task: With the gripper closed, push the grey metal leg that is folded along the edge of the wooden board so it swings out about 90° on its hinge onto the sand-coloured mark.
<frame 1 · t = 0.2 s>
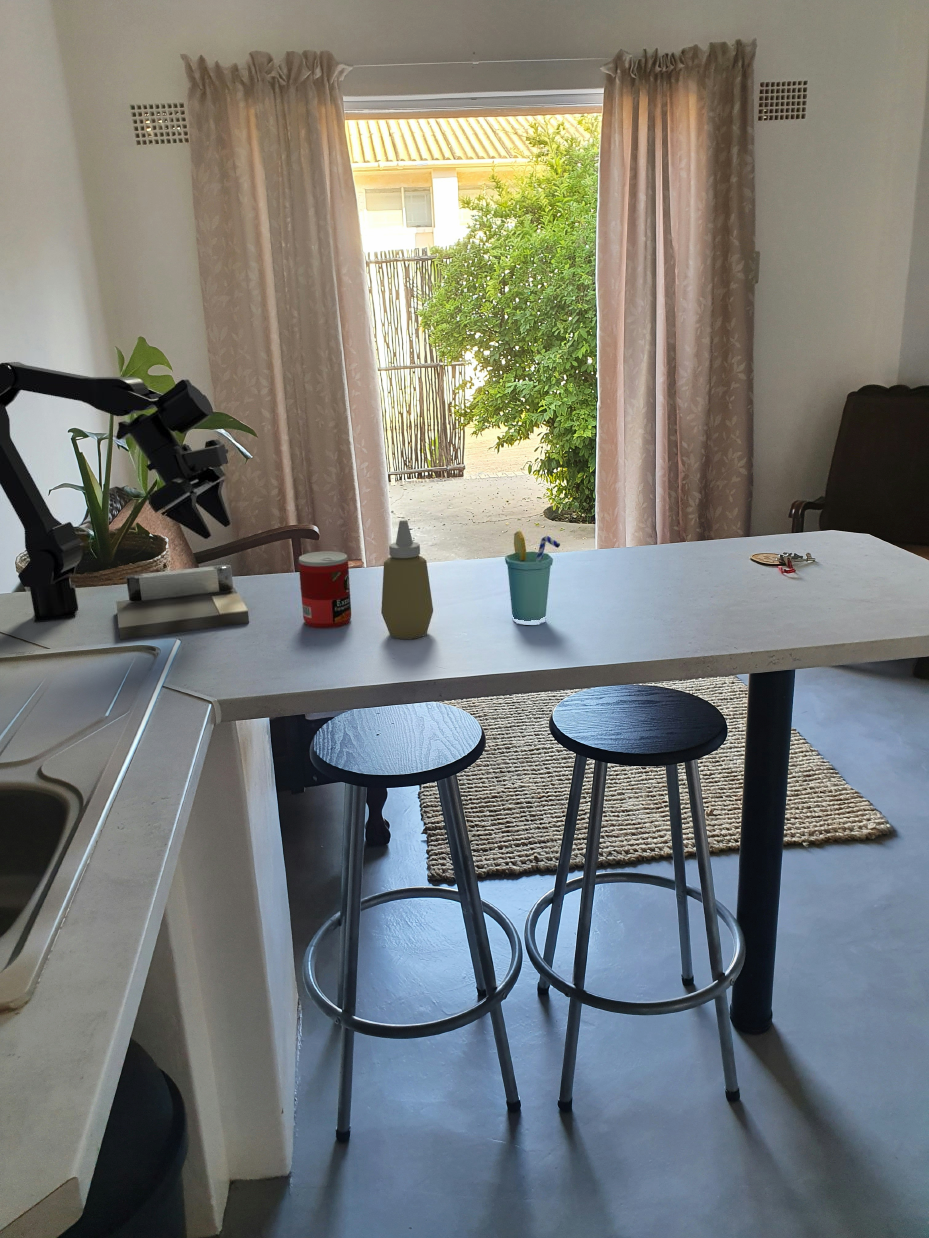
hand: (218, 531, 146), 15 cm above the worktop, tool tilted 30°, fingers open, 9 cm apart
canned food: (327, 622, 147), on the worktop
squeeze bottle: (408, 635, 140), on the worktop
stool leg: (180, 582, 155), point 4 cm above the worktop, hinge at 0.0°
wooden board: (181, 617, 151), on the worktop
cup: (531, 623, 144), on the worktop
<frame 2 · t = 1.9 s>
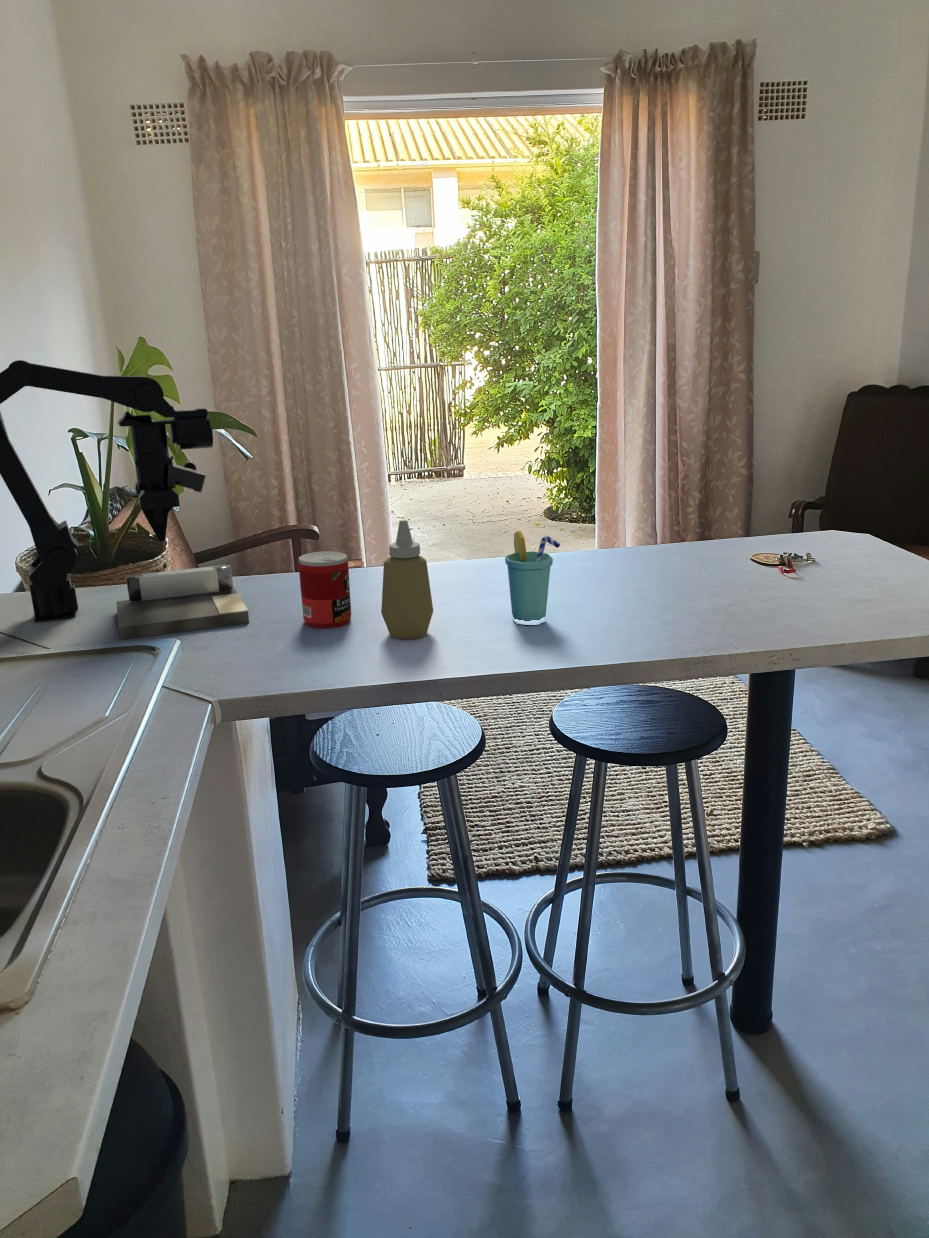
hand: (162, 540, 158), 11 cm above the worktop, tool pointing down, fingers closed
nothing on the worktop moved.
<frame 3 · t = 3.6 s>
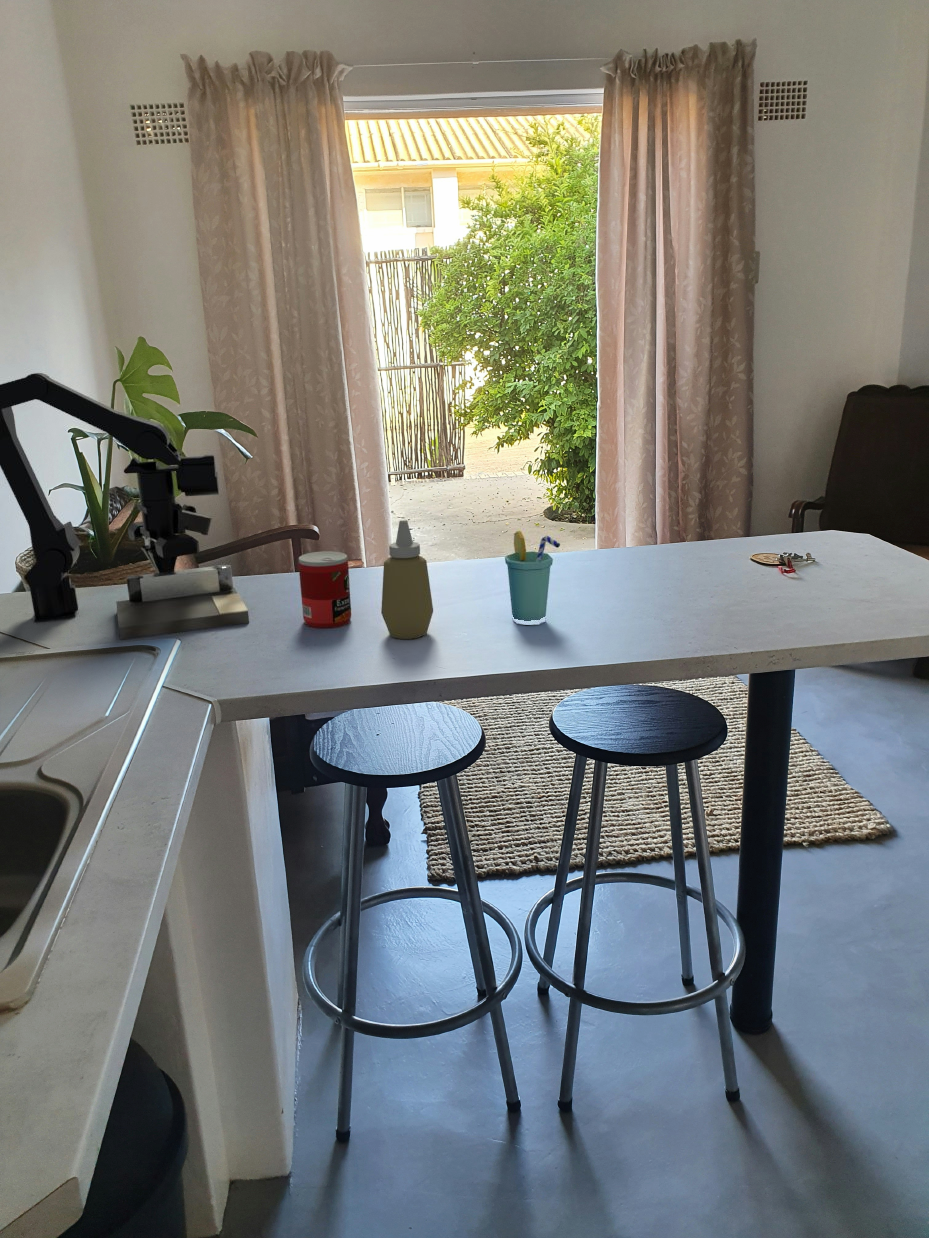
hand: (168, 585, 157), 4 cm above the worktop, tool pointing down, fingers closed
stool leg: (181, 583, 155), point 4 cm above the worktop, hinge at 3.2°, touching gripper
everything else where it was.
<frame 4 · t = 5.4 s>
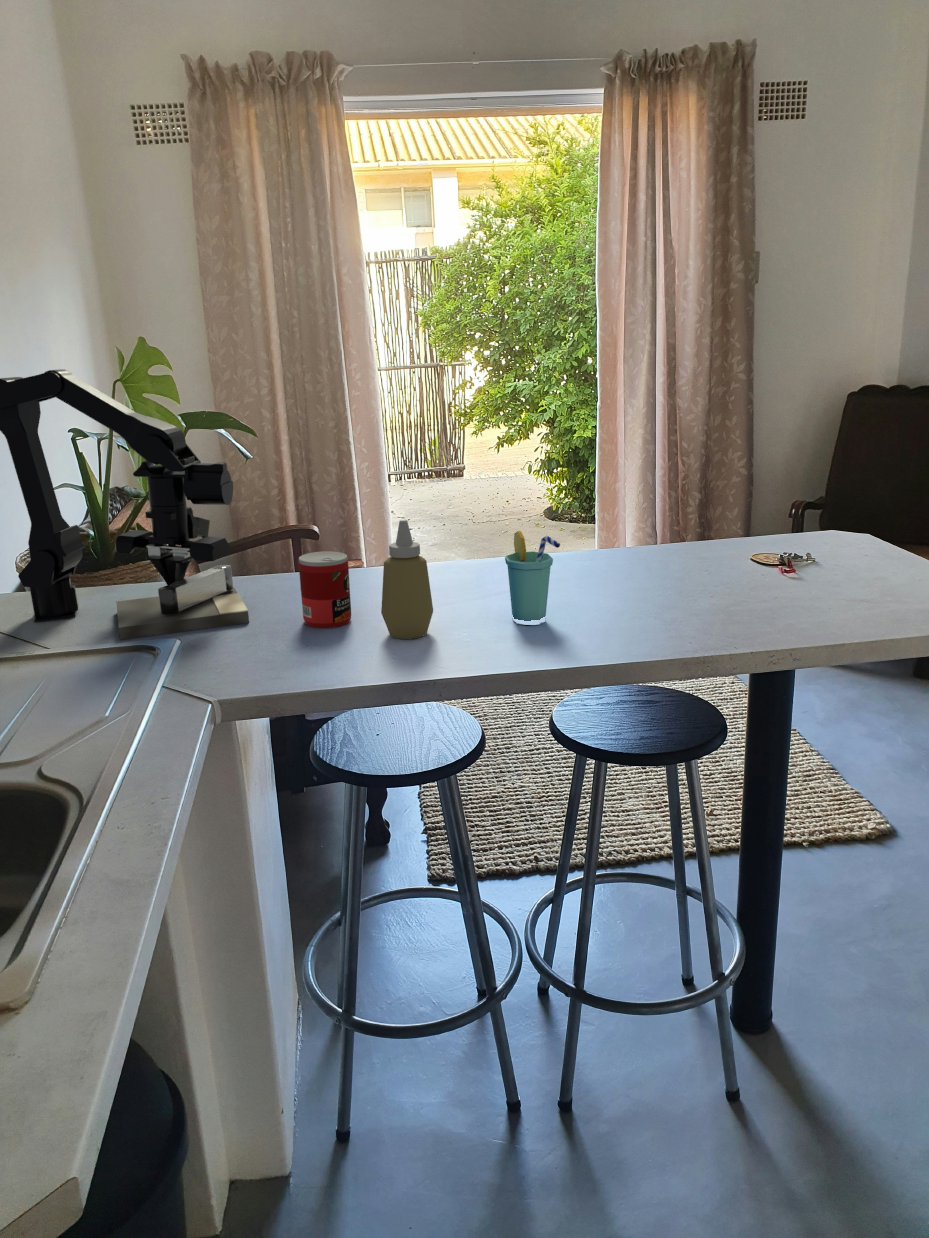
hand: (176, 594, 151), 4 cm above the worktop, tool pointing down, fingers closed
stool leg: (197, 588, 151), point 4 cm above the worktop, hinge at 46.7°, touching gripper
everything else where it was.
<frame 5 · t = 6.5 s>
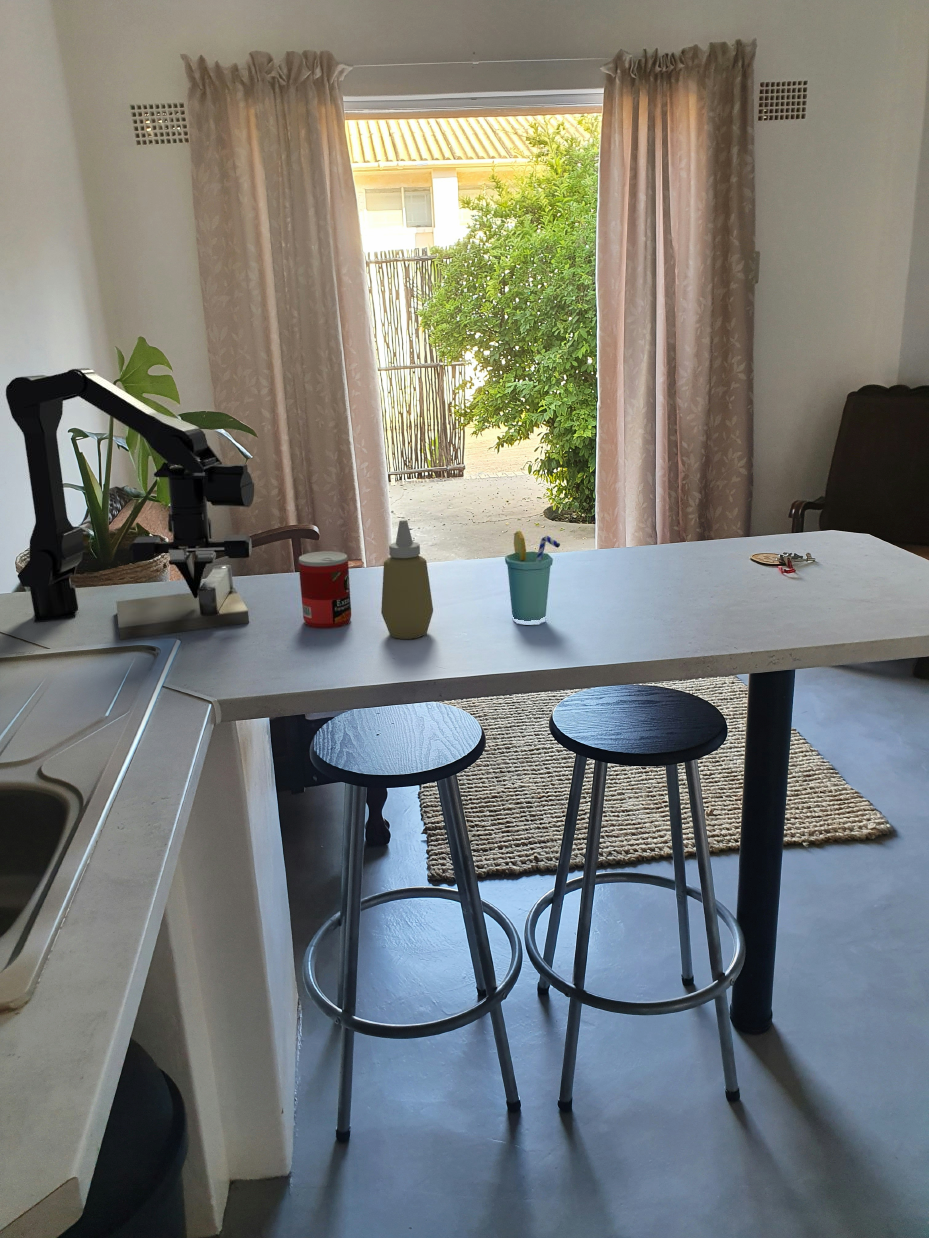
hand: (196, 597, 149), 4 cm above the worktop, tool pointing down, fingers closed
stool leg: (215, 588, 151), point 4 cm above the worktop, hinge at 73.5°, touching gripper
everything else where it was.
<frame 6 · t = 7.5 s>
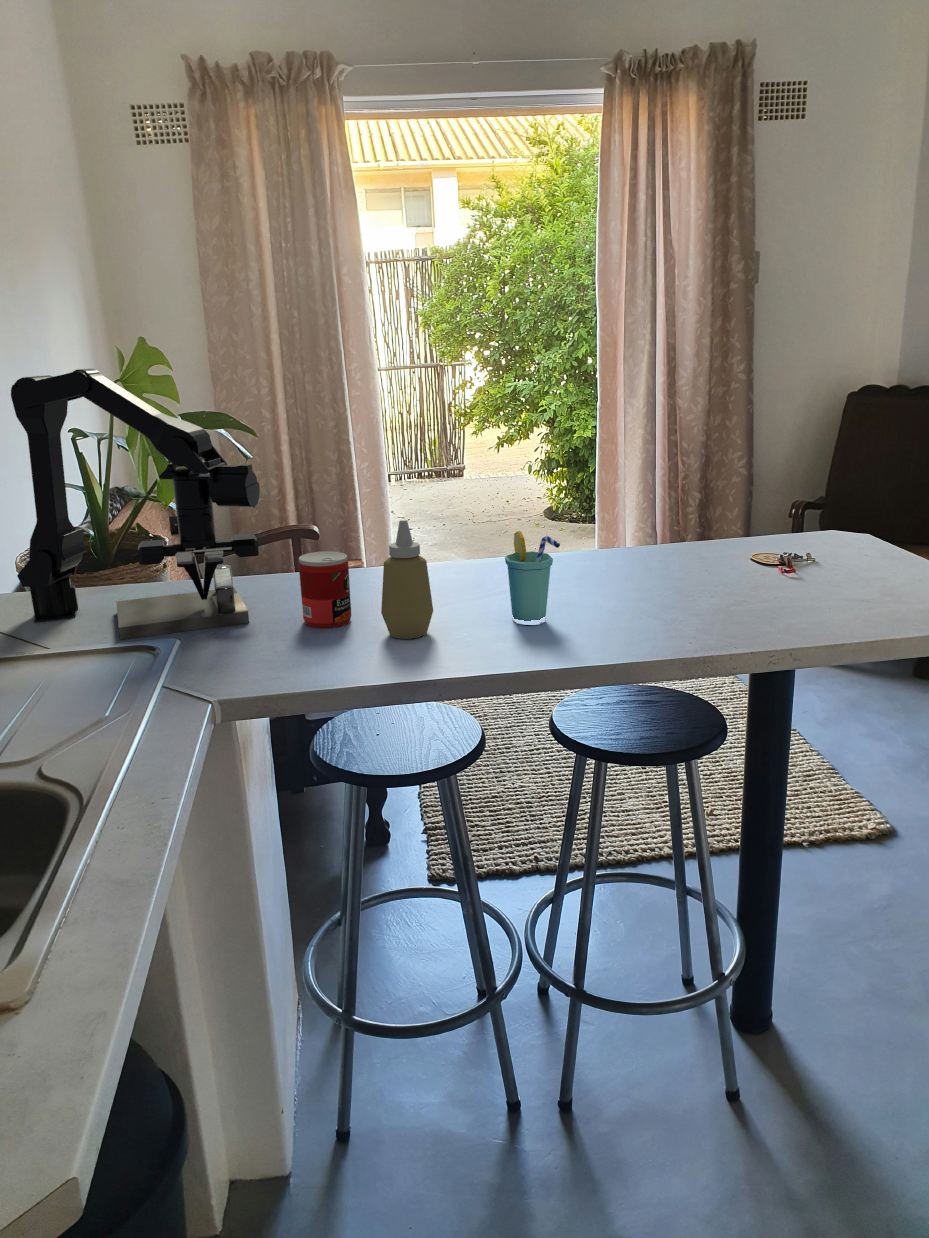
hand: (204, 599, 149), 3 cm above the worktop, tool pointing down, fingers closed
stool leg: (224, 588, 151), point 4 cm above the worktop, hinge at 84.5°
everything else where it was.
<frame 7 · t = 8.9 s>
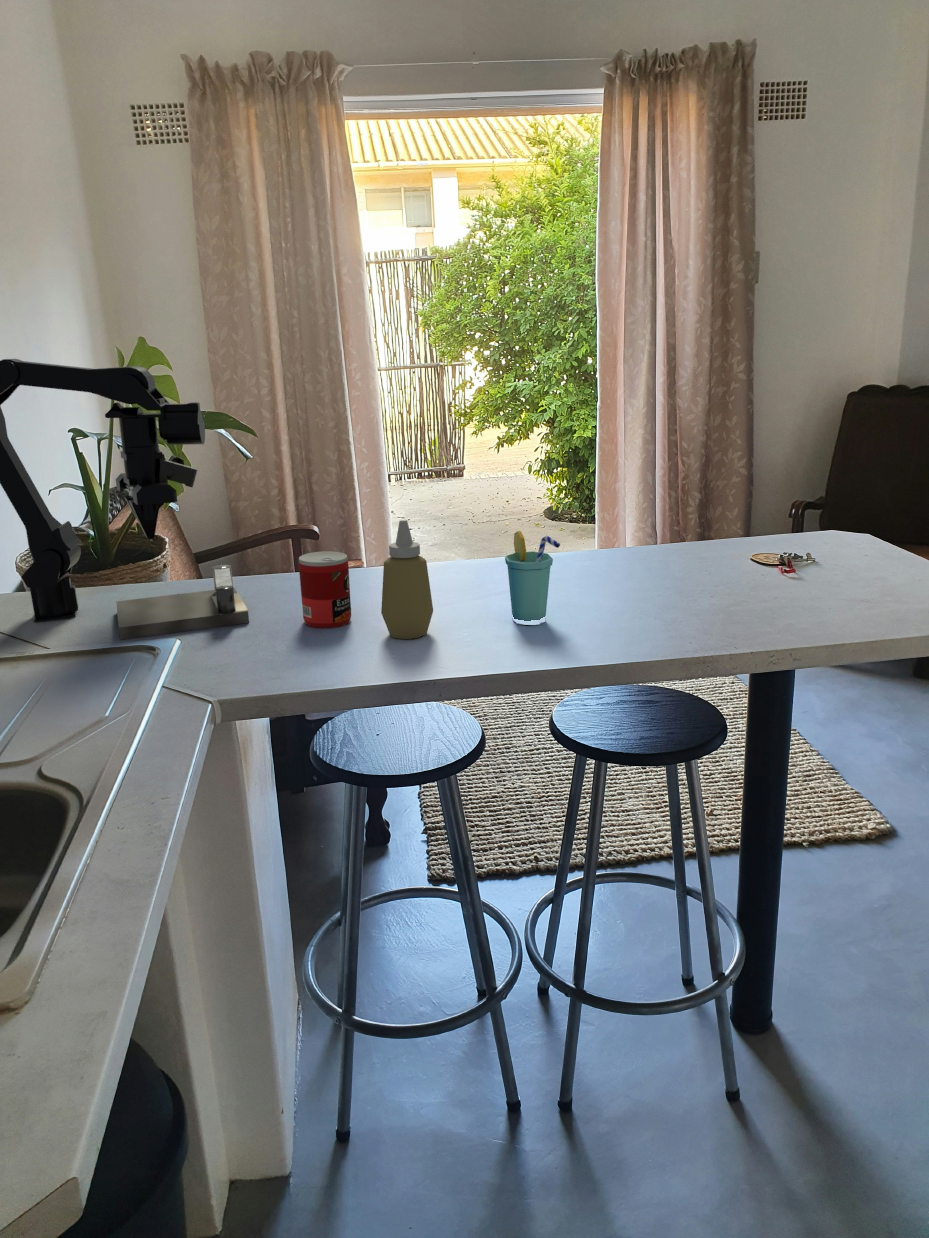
hand: (150, 538, 152), 13 cm above the worktop, tool pointing down, fingers closed
nothing on the worktop moved.
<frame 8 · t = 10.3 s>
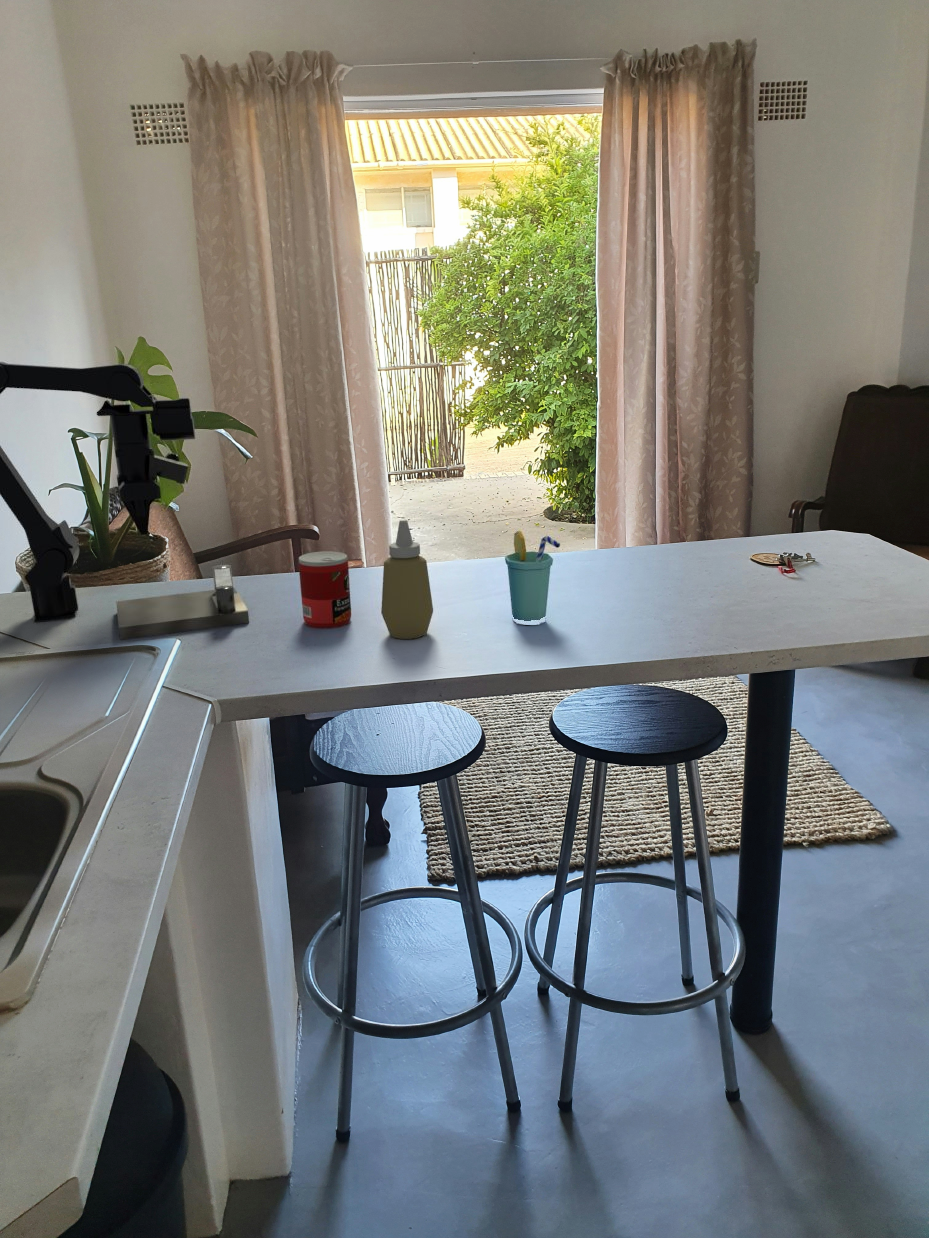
hand: (144, 534, 153), 13 cm above the worktop, tool pointing down, fingers closed
nothing on the worktop moved.
at the end: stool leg at +84° (first picture: +0°); canned food moved 0.2 cm from its start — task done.
